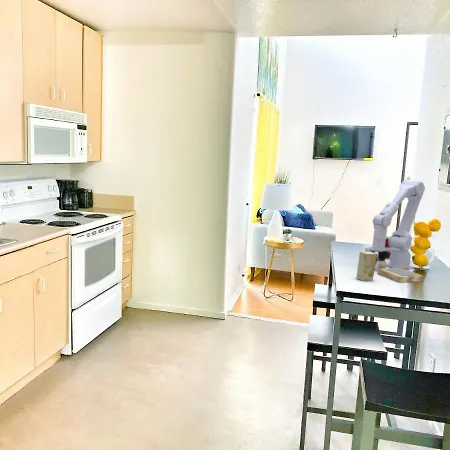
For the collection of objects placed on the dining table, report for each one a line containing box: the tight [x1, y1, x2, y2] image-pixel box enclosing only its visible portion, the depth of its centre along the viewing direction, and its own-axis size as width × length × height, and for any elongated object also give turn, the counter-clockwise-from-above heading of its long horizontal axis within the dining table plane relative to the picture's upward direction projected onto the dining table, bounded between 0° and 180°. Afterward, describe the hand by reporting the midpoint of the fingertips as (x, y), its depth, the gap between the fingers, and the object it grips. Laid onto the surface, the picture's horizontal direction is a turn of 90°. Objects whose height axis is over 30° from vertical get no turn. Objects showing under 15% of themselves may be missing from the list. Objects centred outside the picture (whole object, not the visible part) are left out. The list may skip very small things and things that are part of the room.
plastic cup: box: [385, 235, 391, 260], centre depth 248 cm, size 11×11×12 cm
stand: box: [376, 267, 425, 284], centre depth 206 cm, size 14×14×3 cm
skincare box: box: [355, 251, 378, 282], centre depth 197 cm, size 6×4×12 cm
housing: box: [374, 256, 387, 273], centre depth 219 cm, size 4×8×6 cm, turn 22°
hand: (376, 266), depth 219 cm, fingers closed on housing, 4 cm apart
